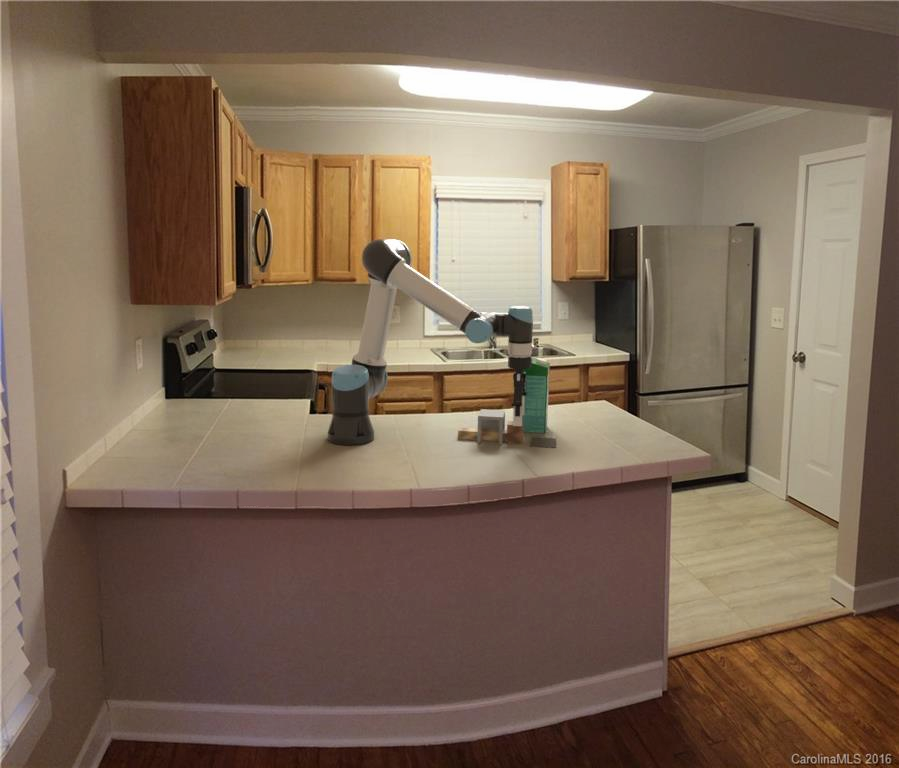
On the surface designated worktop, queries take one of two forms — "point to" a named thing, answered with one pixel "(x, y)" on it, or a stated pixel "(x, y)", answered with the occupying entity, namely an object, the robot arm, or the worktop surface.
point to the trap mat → (543, 442)
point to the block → (514, 433)
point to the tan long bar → (485, 434)
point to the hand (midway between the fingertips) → (518, 420)
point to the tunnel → (491, 422)
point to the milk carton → (536, 396)
